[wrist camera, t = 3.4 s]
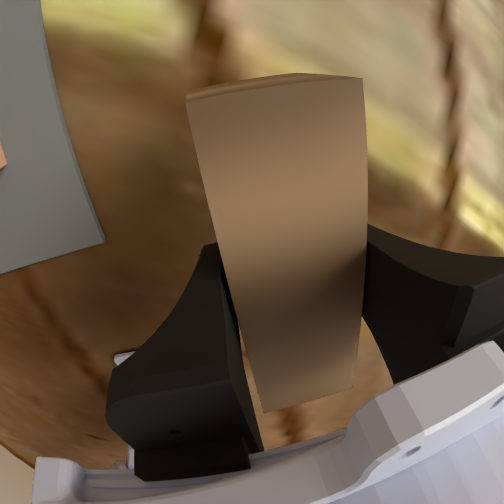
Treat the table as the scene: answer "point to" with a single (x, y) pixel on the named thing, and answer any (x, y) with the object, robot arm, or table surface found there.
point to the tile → (2, 158)
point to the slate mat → (36, 151)
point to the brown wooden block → (289, 223)
